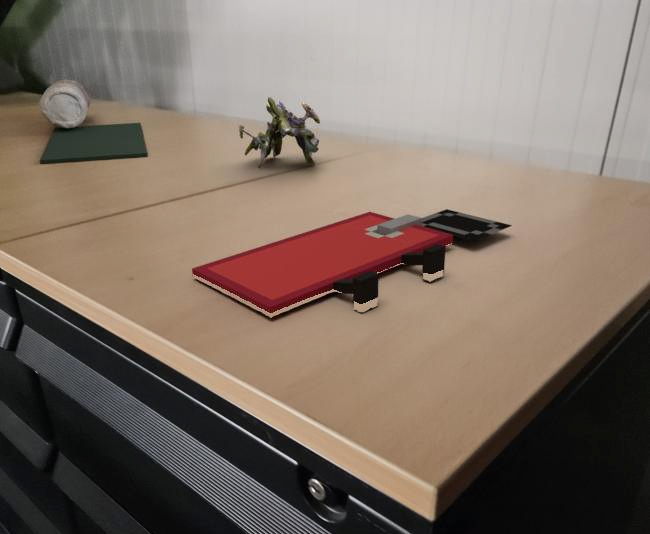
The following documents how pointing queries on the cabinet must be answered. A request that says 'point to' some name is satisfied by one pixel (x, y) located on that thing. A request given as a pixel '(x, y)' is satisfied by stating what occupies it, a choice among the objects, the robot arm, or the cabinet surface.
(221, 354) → the cabinet surface
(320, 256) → the red board with handle
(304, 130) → the toy creature figure
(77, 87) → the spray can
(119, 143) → the mat
